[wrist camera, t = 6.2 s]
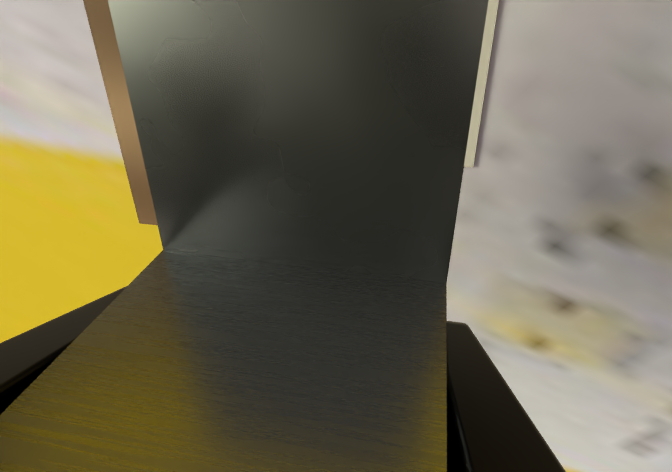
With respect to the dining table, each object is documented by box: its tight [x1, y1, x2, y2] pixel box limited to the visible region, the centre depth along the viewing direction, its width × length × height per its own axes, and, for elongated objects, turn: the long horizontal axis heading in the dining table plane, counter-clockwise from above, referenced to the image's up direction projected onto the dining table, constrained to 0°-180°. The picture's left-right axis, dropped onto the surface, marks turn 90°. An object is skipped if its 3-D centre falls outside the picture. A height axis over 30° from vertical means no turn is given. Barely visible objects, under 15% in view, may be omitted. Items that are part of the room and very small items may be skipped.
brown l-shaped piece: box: [83, 0, 158, 225], centre depth 15 cm, size 15×15×4 cm
